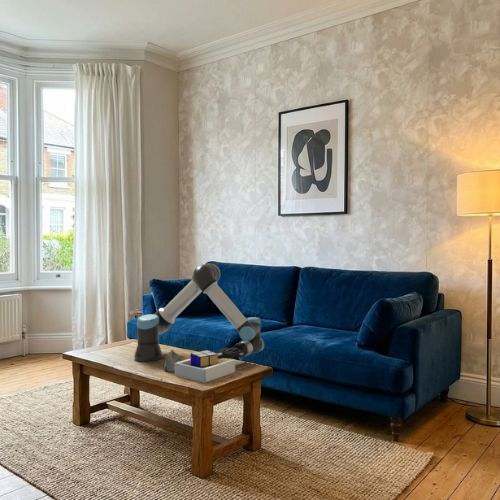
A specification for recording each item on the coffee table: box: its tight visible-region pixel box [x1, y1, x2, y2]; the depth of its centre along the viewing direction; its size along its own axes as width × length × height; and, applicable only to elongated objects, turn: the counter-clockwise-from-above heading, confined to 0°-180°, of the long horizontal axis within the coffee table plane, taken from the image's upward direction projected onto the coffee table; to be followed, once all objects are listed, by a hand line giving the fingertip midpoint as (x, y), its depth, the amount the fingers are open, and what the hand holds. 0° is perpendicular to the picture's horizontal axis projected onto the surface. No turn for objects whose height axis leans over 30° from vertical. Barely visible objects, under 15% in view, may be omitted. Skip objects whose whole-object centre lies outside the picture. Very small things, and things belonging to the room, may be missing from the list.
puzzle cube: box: [190, 349, 219, 369], centre depth 240 cm, size 10×10×10 cm
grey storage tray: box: [174, 358, 236, 383], centre depth 239 cm, size 22×20×6 cm
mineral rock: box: [163, 349, 181, 373], centre depth 249 cm, size 13×11×10 cm
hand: (212, 358), depth 243 cm, fingers closed
